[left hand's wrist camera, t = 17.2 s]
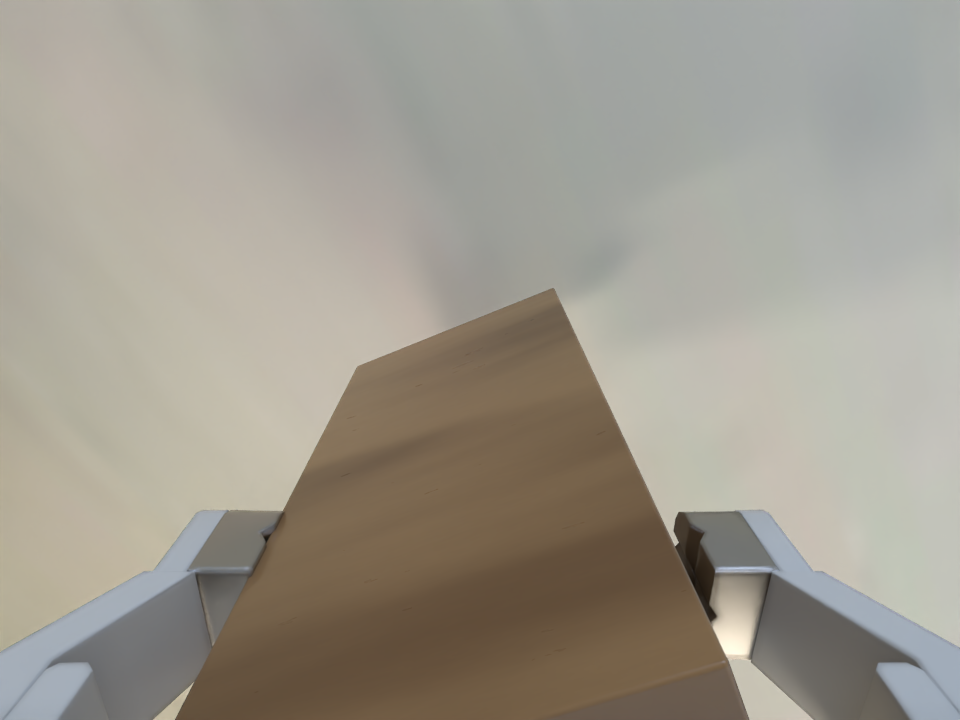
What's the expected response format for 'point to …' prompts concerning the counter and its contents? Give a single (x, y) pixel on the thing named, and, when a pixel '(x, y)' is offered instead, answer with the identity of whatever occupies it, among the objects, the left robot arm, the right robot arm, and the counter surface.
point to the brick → (470, 554)
